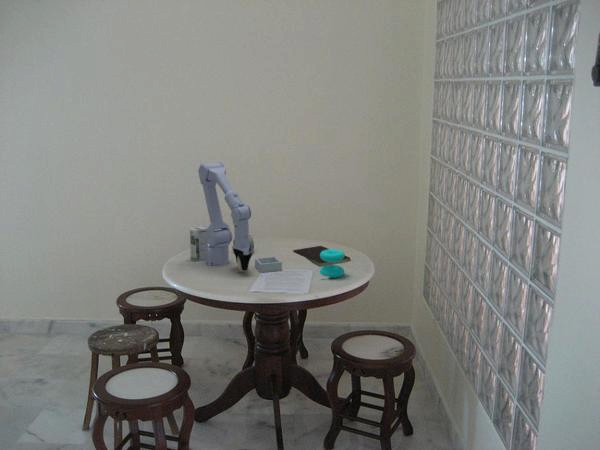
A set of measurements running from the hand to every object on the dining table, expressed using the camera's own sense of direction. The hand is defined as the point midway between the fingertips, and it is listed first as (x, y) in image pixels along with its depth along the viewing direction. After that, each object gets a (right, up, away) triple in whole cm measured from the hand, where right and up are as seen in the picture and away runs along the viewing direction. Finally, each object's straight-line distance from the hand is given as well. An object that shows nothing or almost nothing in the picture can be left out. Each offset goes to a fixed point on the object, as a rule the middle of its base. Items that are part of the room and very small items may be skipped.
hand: (242, 267), depth 271 cm
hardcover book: (+33, +2, +24) cm, 41 cm away
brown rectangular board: (+6, -2, +3) cm, 7 cm away
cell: (0, -2, 0) cm, 2 cm away
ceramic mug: (-2, +4, +32) cm, 33 cm away
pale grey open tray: (+10, -1, +4) cm, 11 cm away
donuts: (+37, -3, -1) cm, 37 cm away
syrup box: (-21, +2, +21) cm, 29 cm away
